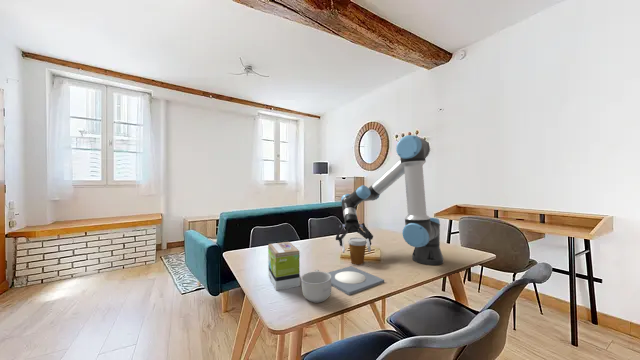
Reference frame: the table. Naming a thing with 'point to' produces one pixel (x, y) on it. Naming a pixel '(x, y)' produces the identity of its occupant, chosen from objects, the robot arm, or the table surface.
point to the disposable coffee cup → (357, 250)
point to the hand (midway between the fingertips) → (356, 251)
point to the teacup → (316, 286)
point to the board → (353, 280)
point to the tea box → (283, 265)
